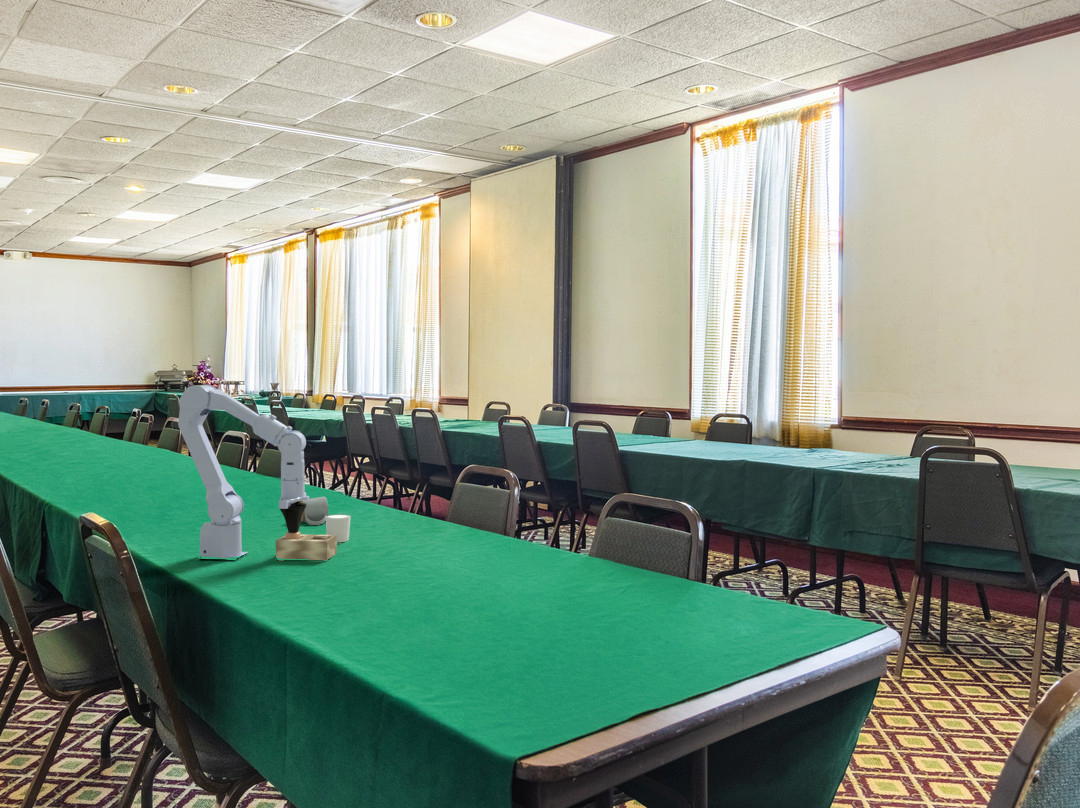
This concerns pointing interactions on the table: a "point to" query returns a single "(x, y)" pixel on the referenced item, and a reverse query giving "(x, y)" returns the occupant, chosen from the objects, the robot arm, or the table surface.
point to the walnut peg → (320, 538)
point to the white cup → (338, 526)
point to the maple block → (306, 547)
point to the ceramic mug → (315, 511)
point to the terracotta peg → (293, 535)
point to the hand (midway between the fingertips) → (293, 532)
